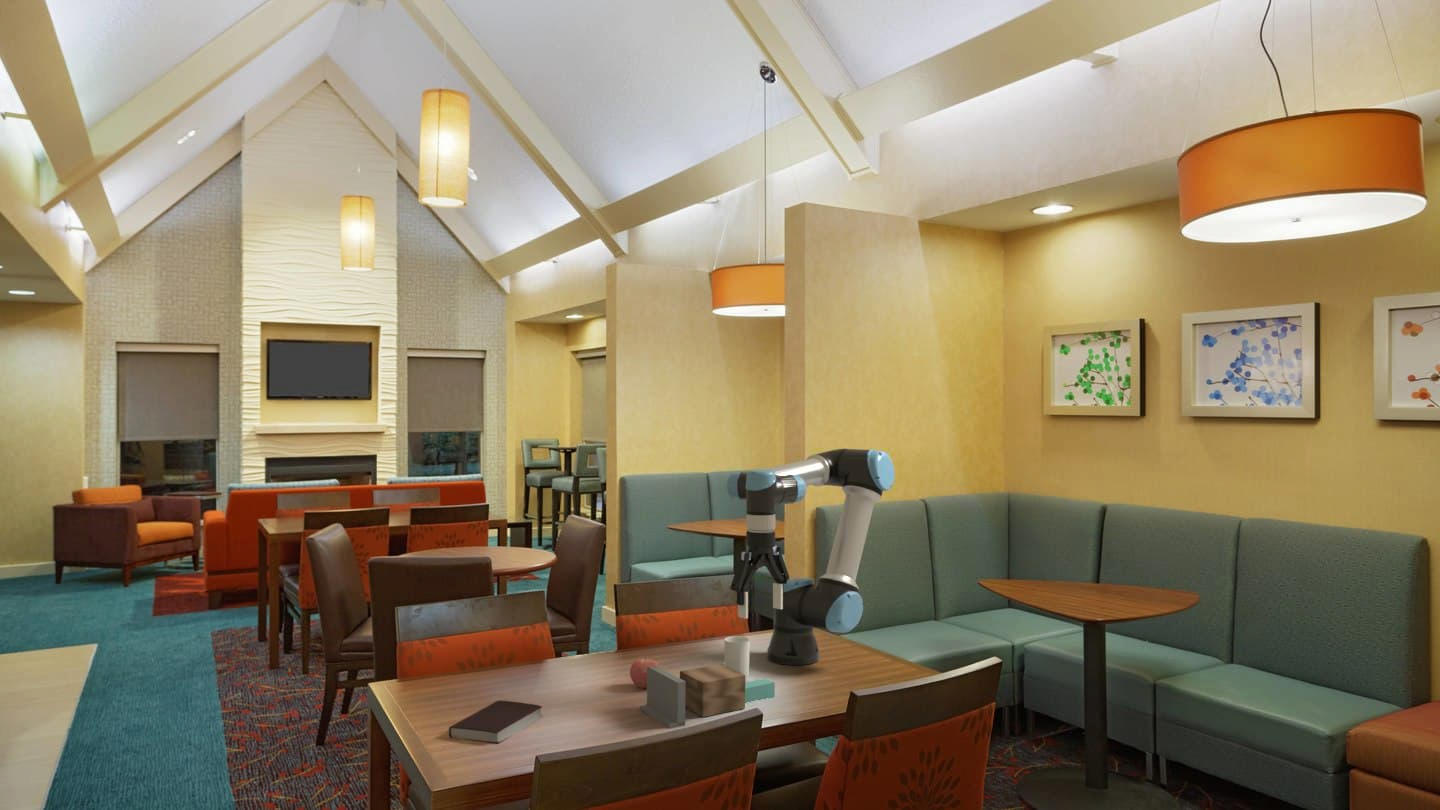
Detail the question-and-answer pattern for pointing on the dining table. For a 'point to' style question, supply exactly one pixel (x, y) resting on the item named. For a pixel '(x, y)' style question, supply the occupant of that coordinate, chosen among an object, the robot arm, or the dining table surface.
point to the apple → (641, 671)
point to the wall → (665, 697)
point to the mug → (737, 654)
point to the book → (496, 722)
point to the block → (713, 690)
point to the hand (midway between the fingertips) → (760, 613)
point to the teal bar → (759, 690)
